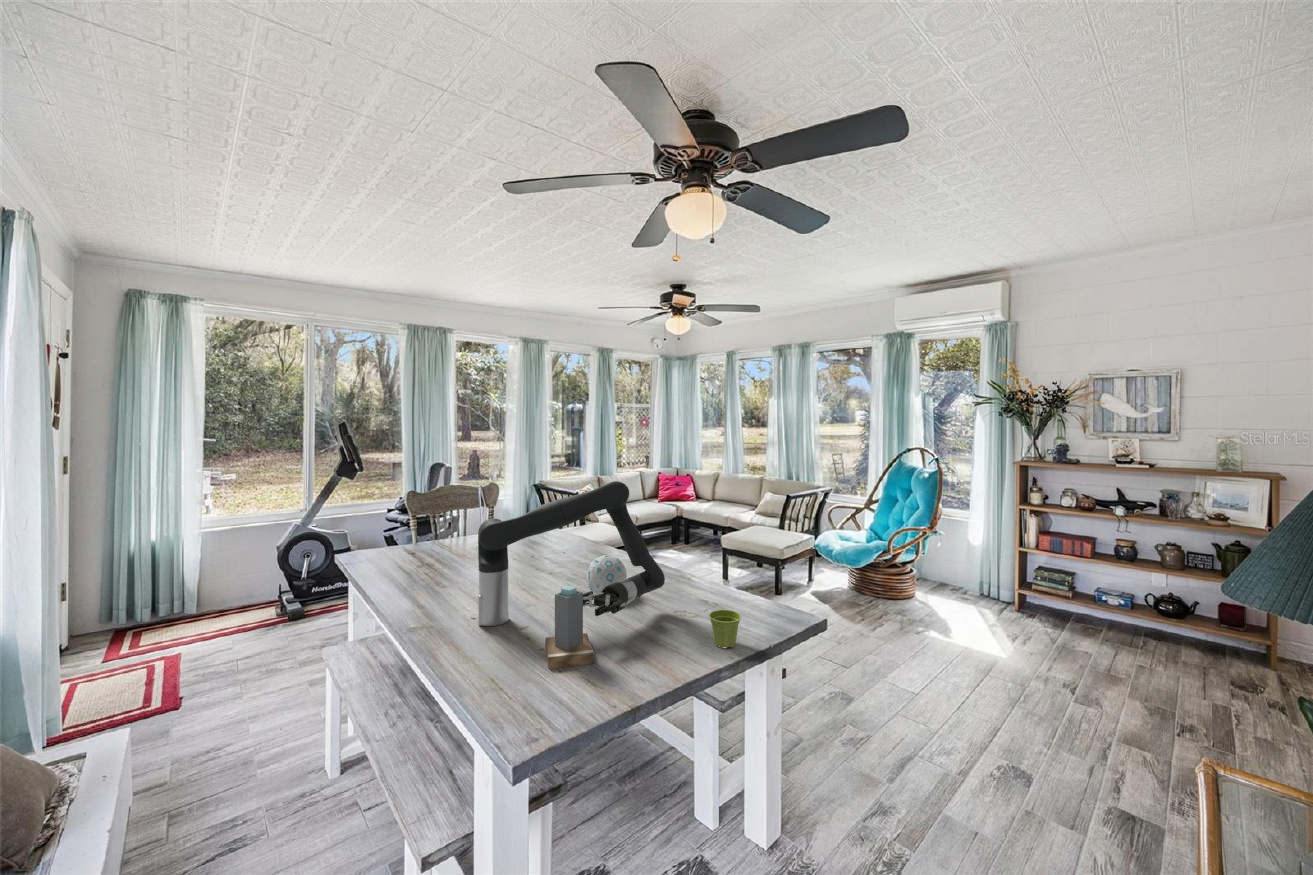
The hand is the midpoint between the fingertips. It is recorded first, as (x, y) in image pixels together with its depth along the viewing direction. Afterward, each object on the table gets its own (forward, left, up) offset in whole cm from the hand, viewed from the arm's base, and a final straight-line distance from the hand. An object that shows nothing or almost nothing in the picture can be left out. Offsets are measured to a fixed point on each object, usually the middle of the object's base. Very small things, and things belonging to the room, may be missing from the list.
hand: (584, 609), depth 148 cm
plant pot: (+40, -9, -11) cm, 42 cm away
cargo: (-5, -4, +5) cm, 8 cm away
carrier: (-5, -4, -8) cm, 10 cm away
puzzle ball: (+14, +42, -11) cm, 46 cm away
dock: (-5, -4, -11) cm, 13 cm away
